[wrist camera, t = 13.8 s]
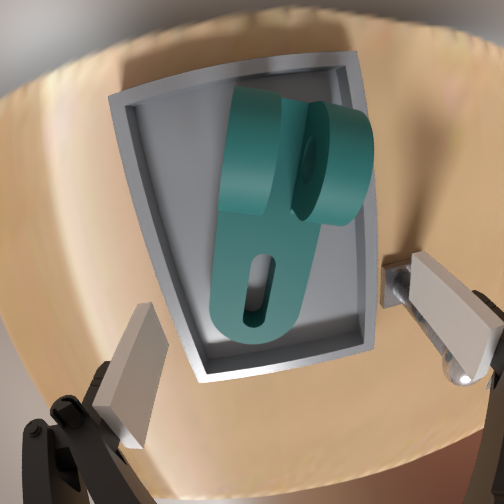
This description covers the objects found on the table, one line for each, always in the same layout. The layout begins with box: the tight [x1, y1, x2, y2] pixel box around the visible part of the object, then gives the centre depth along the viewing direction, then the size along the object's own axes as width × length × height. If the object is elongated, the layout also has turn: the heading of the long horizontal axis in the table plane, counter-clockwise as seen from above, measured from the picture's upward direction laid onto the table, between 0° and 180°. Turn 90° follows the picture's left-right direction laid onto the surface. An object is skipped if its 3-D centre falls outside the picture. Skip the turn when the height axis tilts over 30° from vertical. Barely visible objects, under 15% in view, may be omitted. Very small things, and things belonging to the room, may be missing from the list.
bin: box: [108, 51, 378, 383], centre depth 22 cm, size 16×24×2 cm, turn 10°
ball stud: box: [380, 259, 481, 386], centre depth 20 cm, size 4×4×13 cm
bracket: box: [209, 86, 374, 344], centre depth 19 cm, size 18×7×8 cm, turn 172°
